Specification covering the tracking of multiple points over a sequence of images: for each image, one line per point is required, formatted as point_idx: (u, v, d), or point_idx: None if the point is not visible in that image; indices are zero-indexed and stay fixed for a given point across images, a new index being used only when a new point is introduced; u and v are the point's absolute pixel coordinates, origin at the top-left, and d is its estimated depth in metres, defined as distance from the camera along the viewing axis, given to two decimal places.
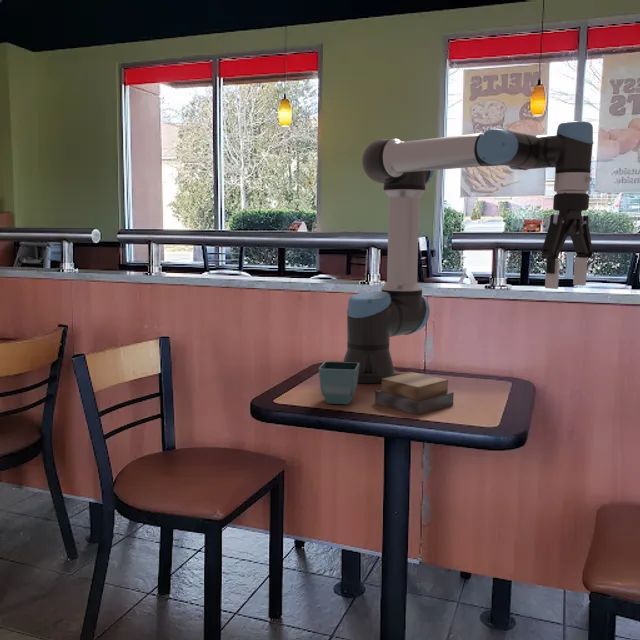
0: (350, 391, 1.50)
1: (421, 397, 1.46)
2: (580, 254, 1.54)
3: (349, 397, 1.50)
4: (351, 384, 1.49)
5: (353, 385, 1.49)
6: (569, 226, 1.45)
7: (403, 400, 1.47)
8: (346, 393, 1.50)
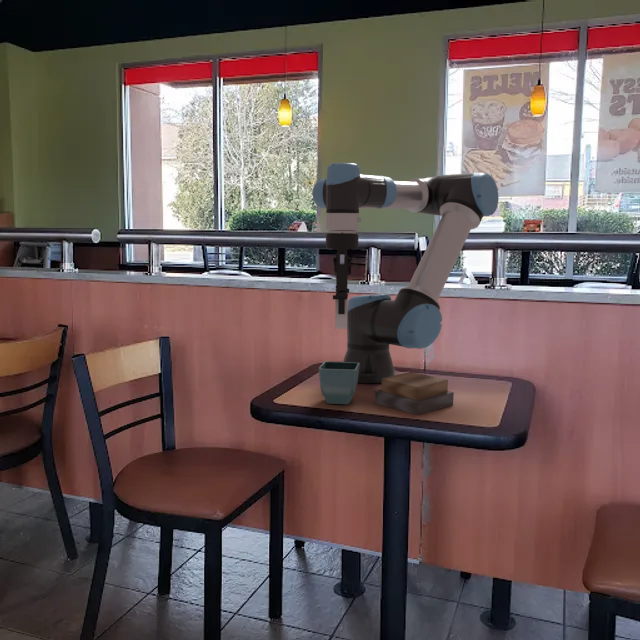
0: (350, 391, 1.50)
1: (421, 397, 1.46)
2: None
3: (349, 397, 1.50)
4: (351, 384, 1.49)
5: (353, 385, 1.49)
6: (348, 265, 1.47)
7: (403, 400, 1.47)
8: (346, 393, 1.50)
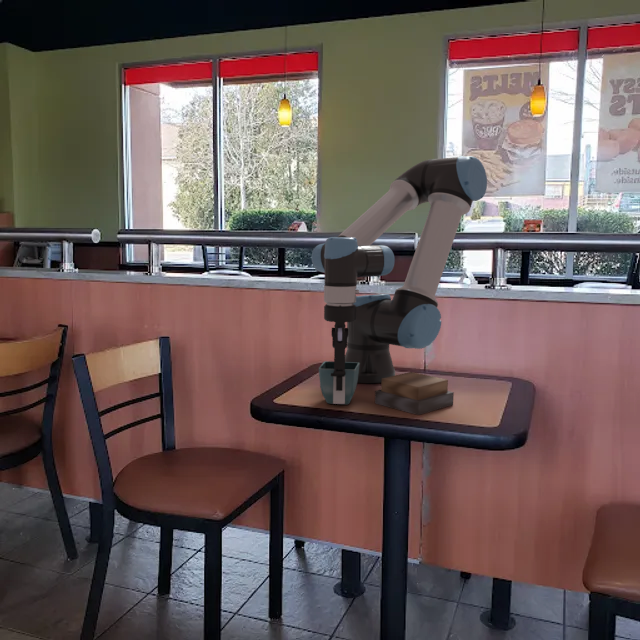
0: (350, 391, 1.50)
1: (421, 397, 1.46)
2: None
3: (349, 397, 1.50)
4: (351, 384, 1.49)
5: (353, 385, 1.49)
6: (346, 339, 1.50)
7: (403, 400, 1.47)
8: (346, 393, 1.50)
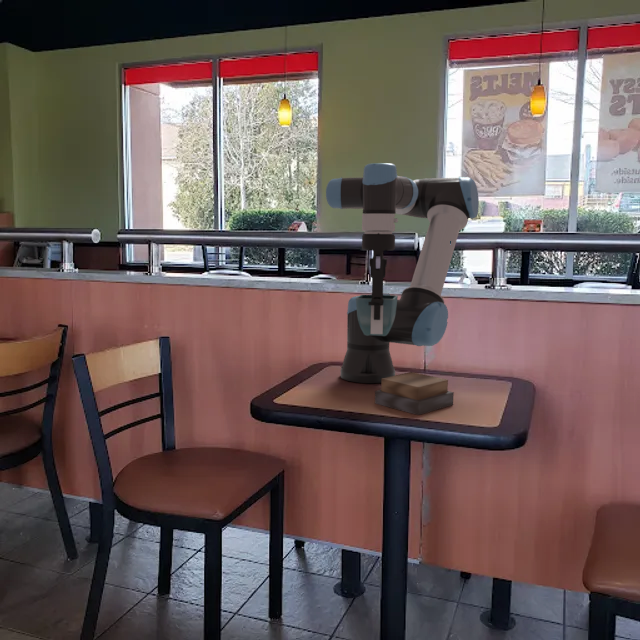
0: (388, 321, 1.47)
1: (421, 397, 1.46)
2: None
3: (387, 328, 1.47)
4: (389, 314, 1.46)
5: (391, 315, 1.46)
6: (384, 268, 1.47)
7: (403, 400, 1.47)
8: (383, 323, 1.47)
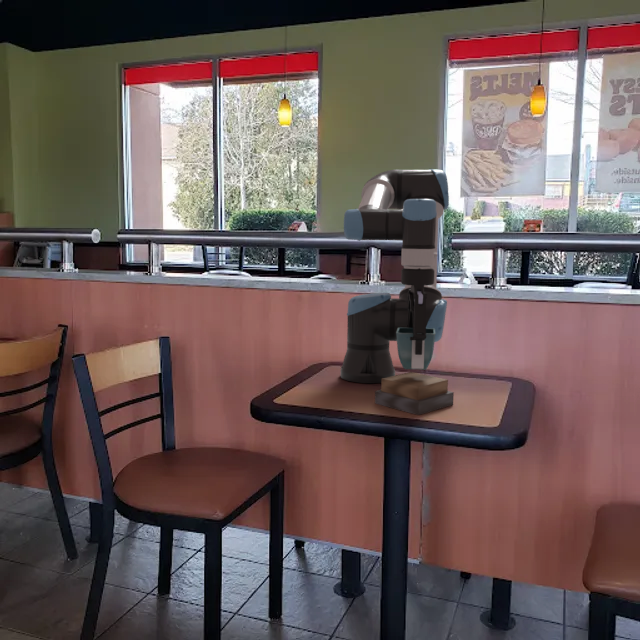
0: (429, 356, 1.47)
1: (421, 397, 1.46)
2: None
3: (427, 362, 1.48)
4: (430, 348, 1.47)
5: (432, 349, 1.47)
6: None
7: (403, 400, 1.47)
8: (424, 357, 1.47)
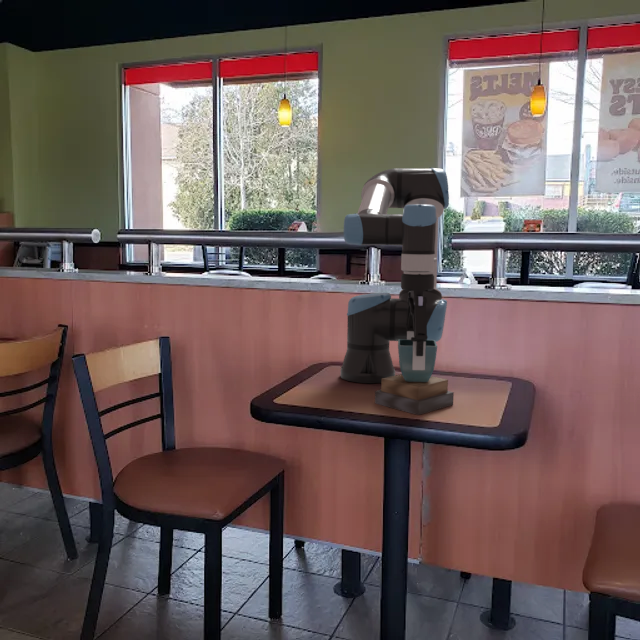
0: (430, 368, 1.47)
1: (421, 397, 1.46)
2: (411, 328, 1.58)
3: (429, 374, 1.47)
4: (432, 361, 1.46)
5: (434, 362, 1.46)
6: None
7: (403, 400, 1.47)
8: (426, 370, 1.47)
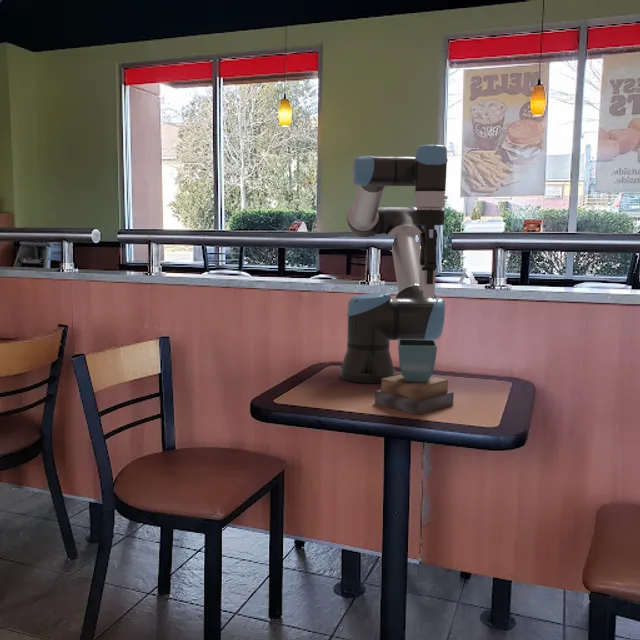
0: (430, 368, 1.47)
1: (421, 397, 1.46)
2: (423, 262, 1.71)
3: (429, 374, 1.47)
4: (432, 361, 1.46)
5: (434, 362, 1.46)
6: None
7: (403, 400, 1.47)
8: (426, 370, 1.47)
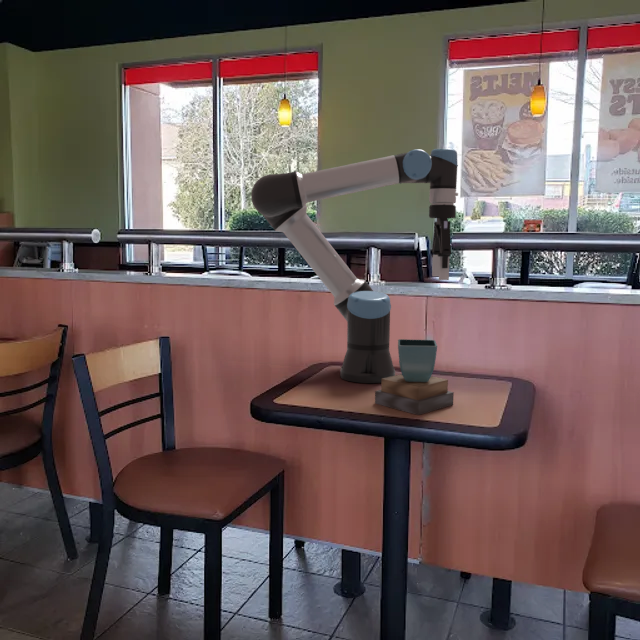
0: (430, 368, 1.47)
1: (421, 397, 1.46)
2: (436, 252, 1.96)
3: (429, 374, 1.47)
4: (432, 361, 1.46)
5: (434, 362, 1.46)
6: None
7: (403, 400, 1.47)
8: (426, 370, 1.47)
